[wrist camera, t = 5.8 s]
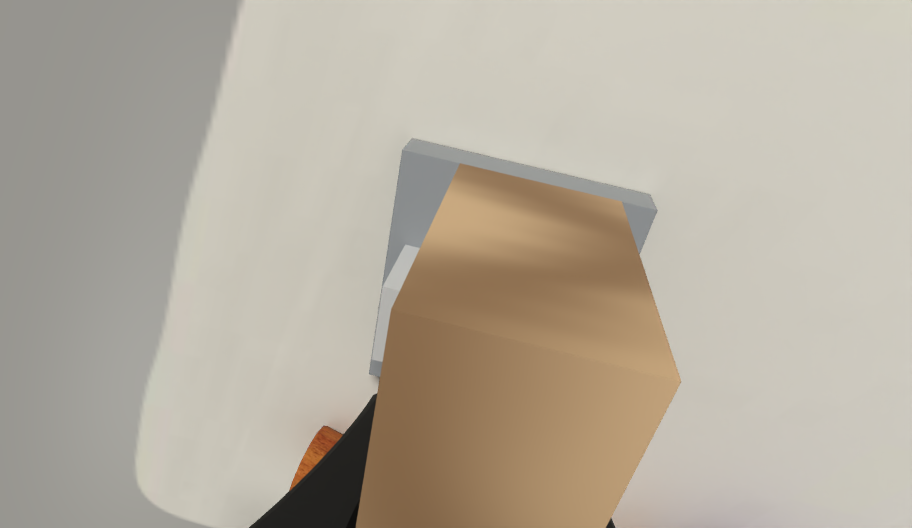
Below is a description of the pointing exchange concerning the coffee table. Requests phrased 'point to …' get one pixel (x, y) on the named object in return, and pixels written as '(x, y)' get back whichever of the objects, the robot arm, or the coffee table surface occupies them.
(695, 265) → the coffee table surface
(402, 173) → the balance stand
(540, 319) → the oak bar
